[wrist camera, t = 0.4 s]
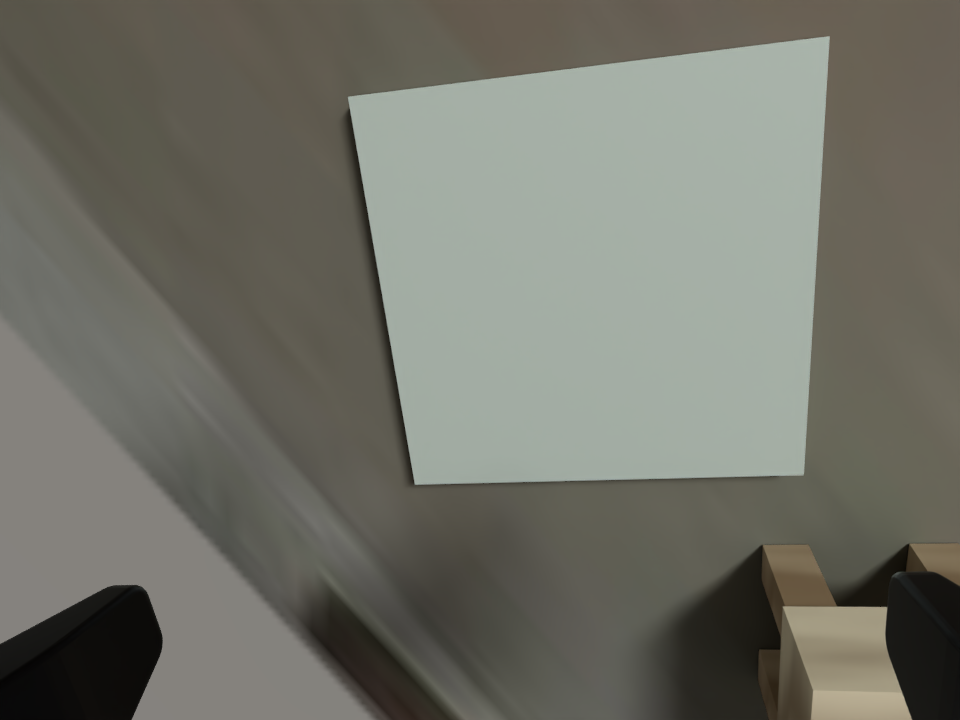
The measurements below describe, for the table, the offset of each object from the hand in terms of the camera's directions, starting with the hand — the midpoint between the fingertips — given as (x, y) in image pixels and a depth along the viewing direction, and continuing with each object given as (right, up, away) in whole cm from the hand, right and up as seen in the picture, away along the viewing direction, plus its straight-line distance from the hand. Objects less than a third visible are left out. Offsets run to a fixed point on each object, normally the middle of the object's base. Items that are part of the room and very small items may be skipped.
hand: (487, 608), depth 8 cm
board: (+3, +5, +12) cm, 14 cm away
